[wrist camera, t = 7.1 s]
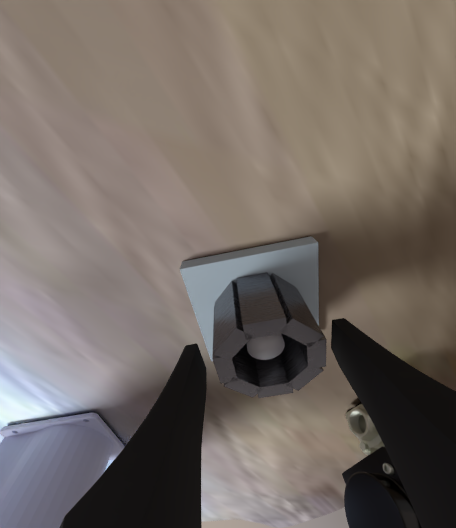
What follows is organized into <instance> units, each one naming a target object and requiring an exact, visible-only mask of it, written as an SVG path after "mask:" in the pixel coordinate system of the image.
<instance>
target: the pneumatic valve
mask: <svg viewBox="0 0 456 528" xmlns="http://www.w3.org/2000/svg"><path fill="white" fill-rule="evenodd" d="M345 416H346V419H347V420H348V425H349V428H350V430H351V432H352V433H353V434H354V435H356V436H357V437H358V439H359V440H360V449H361V450H362V451H363V453H365V454H367V455H368V456H367V457H366V458H364V459H363V460H361V461H360V462H358V463H357V464H355V465H354V466H352V467H351V468H349V469H348V470H346V471H345V472H343V473H342V475H343V478H344V481H345V483H346V488H345V495H344V503H345V512H346V517H347V522H348V525H349V528H422V527H421V525H420V523H419V520H418V518H417V516H416V513H415V511H414V509H413V506H412V504H411V502H410V500H409V497H408V495H407V493H406V491H405V489H404V486H403V484H402V482H401V480H400V478H399V475H398V473H397V471H396V469H395V467H394V465H393V463H392V461H391V459H390V456H389V454H388V452H387V450H386V448H385V446H384V444H383V442H382V440H381V438H380V436H379V434H378V432H377V430H376V428H375V426H374V424H373V422H372V420H371V418H370V417H369V415H368V413H367V411H366V410H365V408H364V406H363V405H362V404H360V405H358V406H357V407H355V408H353V409H351V410H350V411H348V412H347V413H346V414H345Z"/></svg>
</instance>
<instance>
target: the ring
mask: <svg viewBox="0 0 456 528" xmlns="http://www.w3.org/2000/svg"><path fill="white" fill-rule="evenodd" d="M236 281H237V283H235V282H234V281H231V282H230V283H229V285H228V286H227V287H226V288H225V290H224V291H223V292H222V294H221V295H220V296H219V297H218V299H217V300H216V301H215V306H214V324H213V356H212V359H213V362H214V365H215V368H216V371H217V374H218V377H219V380H220V383H224V387H227V388H229V389H232V390H235V391H237V392H240V393H242V394H245V395H248V396H250V397H254V396H256V395H257V394H258V397H259V398H263V397H269V396H275V395H282V394H288V393H293V388H294V389H296V390H300V389H301V388H302V387H303V386H305V385H306V384H307V383H308V382H310V381H311V380H312V379H313V378H315V377H316V376H317V375H318V374H320V373H321V372H322V371H323V368H322V367H325V366H326V338H325V336H324V335H323V333H322V331H321V329H320V328H319V326H318V324H317V322H316V321H315V319H314V317H313V315H312V314H311V312H310V310H309V308H308V307H307V305H306V303H305V301H304V300H303V298H302V296H301V294H300V293H299V291H298V289H297V288H296V287H295V286H294V285H292V284H290V283H289V282H287V281H285V280H284V279H282V278H280V277H279V276H277V275H275V274H274V273H272V274H271V275H270V276H269V274H268V272H265V273H259V274H254V275H249V276H244V277H238V278H236ZM277 334H282V337H283V340H284V343H285V347H284V350H283V351H282V352H281V354H279V355H278V356H277V357H275V358H272V359H268V360H260V359H256V358H254V357H252V356H251V355H250V354H249V353H248V351H247V344H246V343H247V342H248V341H249V340H250V339H254V338H260V337H266V336H271V335H277Z"/></svg>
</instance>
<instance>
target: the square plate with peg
mask: <svg viewBox="0 0 456 528" xmlns="http://www.w3.org/2000/svg"><path fill="white" fill-rule="evenodd" d="M180 271H181V274H182V277H183V280H184V283H185V286H186V289H187V292H188V295H189V298H190V301H191V303H192V306H193V309H194V312H195V315H196V318H197V321H198V324H199V327H200V330H201V333H202V336H203V338H204V341H205V344H206V347H207V350H208V353H209V356H210V359H211V361H213V359H212V356H213V324H214V306H215V301H216V300H217V299H218V297H219V296H220V295H221V294H222V292H223V291H224V290H225V288H226V287H227V286H228V285H229V283H230V282H231V281H234V282H235V283H237V281H236V278H238V277H244V276H249V275H254V274H259V273H265V272H268V274H269V276H270V275H271V274H272V273H274V274H275V275H277V276H279V277H280V278H282V279H284V280H285V281H287V282H289V283H290V284H292V285H294V286H295V287H296V288H297V289H298V291H299V293H300V294H301V296H302V298H303V300H304V301H305V303H306V305H307V307H308V308H309V310H310V312H311V314H312V315H313V317H314V319H315V321H316V322H317V324H318V326H319V278H318V242H317V241H316V240H315V239H314V238H313V237H312V236H310V237H305V238H300V239H295V240H290V241H285V242H280V243H275V244H269V245H264V246H259V247H254V248H249V249H244V250H239V251H234V252H229V253H224V254H218V255H213V256H208V257H203V258H198V259H193V260H188V261H183V262H182V264H181V267H180ZM246 344H247V351H248V353H249V354H250V355H251V356H252V357H254V358H256V359H260V360H268V359H272V358H275V357H277V356H278V355H279V354H281V352H282V351H283V350H284V347H285V343H284V340H283V337H282V334H277V335H271V336H266V337H260V338H254V339H250V340H249V341H248V342H247V343H246Z"/></svg>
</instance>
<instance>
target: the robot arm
mask: <svg viewBox="0 0 456 528" xmlns="http://www.w3.org/2000/svg"><path fill="white" fill-rule="evenodd" d="M331 348H332V351H333V353H334V355H335V357H336V360H337V362H338V364H339V366H340V368H341V370H342V371H343V373H344V375H345V376H346V378H347V380H348V381H349V383H350V385H351V386H352V388H353V390H354V391H355V393H356V395H357V396H358V398H359V400H360V401H361V403H362V405H363V406H364V408H365V410H366V411H367V413H368V415H369V417H370V418H371V420H372V422H373V424H374V426H375V428H376V430H377V432H378V434H379V436H380V438H381V440H382V442H383V444H384V446H385V448H386V450H387V452H388V454H389V456H390V459H391V461H392V463H393V465H394V467H395V469H396V471H397V473H398V475H399V478H400V480H401V482H402V484H403V486H404V489H405V491H406V493H407V495H408V497H409V500H410V502H411V504H412V506H413V509H414V511H415V513H416V516H417V518H418V520H419V523H420V525H421V527H422V528H456V391H454V390H452V389H450V388H448V387H446V386H444V385H443V384H441V383H439V382H437V381H436V380H434V379H432V378H430V377H429V376H427V375H425V374H423V373H422V372H420V371H418V370H417V369H415V368H414V367H412V366H410V365H409V364H407V363H406V362H404V361H403V360H401V359H400V358H398V357H397V356H395V355H394V354H392V353H391V352H389V351H388V350H386V349H385V348H384V347H382V346H381V345H379V344H378V343H377V342H375V341H374V340H372V339H371V338H370V337H368V336H367V335H366V334H364V333H363V332H362V331H360V330H359V329H358V328H356V327H355V326H354V325H353V324H351V323H350V322H349V321H347V320H346V319H344V318H342V319H336V320H332V339H331ZM205 400H206V367H205V364H204V361H203V358H202V356H201V353H200V350H199V348H198V345H197V344H192V345H186V346H185V348H184V350H183V352H182V354H181V356H180V358H179V361H178V363H177V365H176V367H175V369H174V371H173V373H172V374H171V376H170V378H169V380H168V382H167V384H166V386H165V387H164V389H163V391H162V393H161V394H160V396H159V398H158V399H157V401H156V403H155V404H154V406H153V408H152V409H151V411H150V412H149V414H148V415H147V417H146V418H145V420H144V421H143V423H142V424H141V426H140V427H139V428H138V430H137V431H136V433H135V434H134V435H133V437H132V438H131V439H130V441H129V442H128V443H127V445H126V446H124V445H123V444H122V442H121V441H120V440H119V439H118V438H117V437H116V435H115V434H114V433H113V432H112V431H111V429H110V428H109V427H108V426H107V425H106V423H105V422H104V421H103V420H102V419H101V418H100V416H99V415H98V414H96V413H86V414H80V415H73V416H67V417H61V418H54V419H48V420H42V421H36V422H29V423H23V424H17V425H11V426H5V427H3V428H2V429H1V430H0V434H1V435H2V436H3V437H5V438H4V439H3V440H2V442H1V443H0V528H201V445H202V431H203V421H204V411H205ZM114 459H115V460H114ZM108 460H114V461H113V462H112V463H111V465H110V466H109V467H108V468H107V470H106V471H105V469H106V466H107V463H108Z"/></svg>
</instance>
